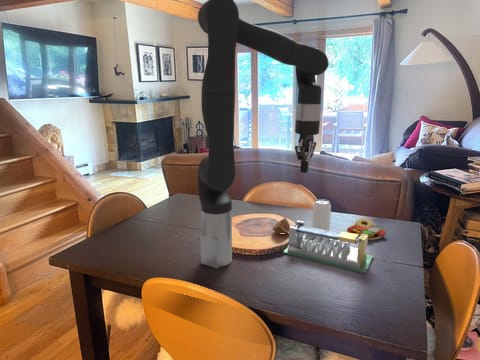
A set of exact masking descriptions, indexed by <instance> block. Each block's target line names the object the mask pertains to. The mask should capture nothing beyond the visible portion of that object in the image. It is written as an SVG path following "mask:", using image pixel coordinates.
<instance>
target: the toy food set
mask: <svg viewBox="0 0 480 360" xmlns="http://www.w3.org/2000/svg"><path fill="white" fill-rule="evenodd" d="M346 232H348V233H353V234H358V236H359V237H360V236H361V234H366V235H368V241H375V240H376V241H377V240H379V239H381V238H383V237H384V236H385V235H386V234H387V232H386V230H385V229H383V227H382V226H380V225H376V226H374V224H373V222H372V221H370V220H368V219H364V218H363V219H362V218H361V219H357V220H356V221H355V223H354V224H351V225H349V226H348V227H346Z"/></svg>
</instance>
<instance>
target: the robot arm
mask: <svg viewBox="0 0 480 360" xmlns="http://www.w3.org/2000/svg"><path fill="white" fill-rule="evenodd" d="M239 12H240V11H239V9H238V6H237V3H236V2H235V0H207V1H205V2H204V3H203V4H202V5H201V6H200V8H199V10H198V13H197V21H198V25H199V26H200V28H201V31H203V32H204V33H205V34H206V35H207V43H208V50H207V58H206V64H205V68H204V73H203V76H202V83H201V103H200V104H201V114H202V115H201V116H202V120H203V125H204V128H205V131H206V135H207V140H208V155H207V156H205V157H203V158H202V159H201V161H200V163H199V165H198V168H197V188H198V191H197V192H198V199H199V202H200V208H201V209H200V210H201V211H200V212H201V214H200V215H201V234H200V236H199V239H200V263H201V265H205V266H207V267H210V268H214V269H220V268H222V267H226V266H228V265H230V264H231V263H232V262H233V229H232V227H233V225H232V224H233V217H232V216H233V213H232V212H233V211H232V210H233V209H232V208H233V206H232V205H233V204H232V203H233V202H232V199H231V197H230V194H229V191H228V190H229V189H230V188H231V186H232V185H233V183H234V181H235V179H236V162H235V161H236V160H235V151H234V150H235V147H234V134H235V104H236V47H237V44H239V45H242V46H244V47H247V48H250V49H251V50H254V51H256V52H258V53H261V54H263V55H264V56H266V57H268V58H271V59H272V60H274V61H277V62H278V63H281V64H283V65H287V66H294V67H295V77H296V85H297V88H298V92H297V106H296V111H295V127H294V132H295V134H297V135H299V138H298V140H297V141H298V143H297V144H298V145H295V147H294V151H295V154H296V158H297V160H298V161H300V168H299V169H300V171H299V172H300V173H302V174H306V173H308V172H309V167H310V161H311V159H312V158H313V155H314V153H315V150H316V146H317V141H315V136H316V135H319V133H320V127H321V126H320V125H321V102H322V101H321V100H322V87H321V85H320V84H317V80H316V76H320V75H322V74H323V73H325V72H326V71H327V70H328V68H329V58H328V55H326V53H325V52H323V50H321V49H319V48H317V47H314V46H311V45H307V44H305V43H301V42H298V41H296V40H295V39H293V38H291V37H289V36H286V34H285V35H284V34H283V33H281V32H278V31H276V30H273V29H270V28H266V27H262V26H259V25H256V24H254V23H251V22H249V21H247V20H244V19H242V18H240V13H239Z"/></svg>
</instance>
